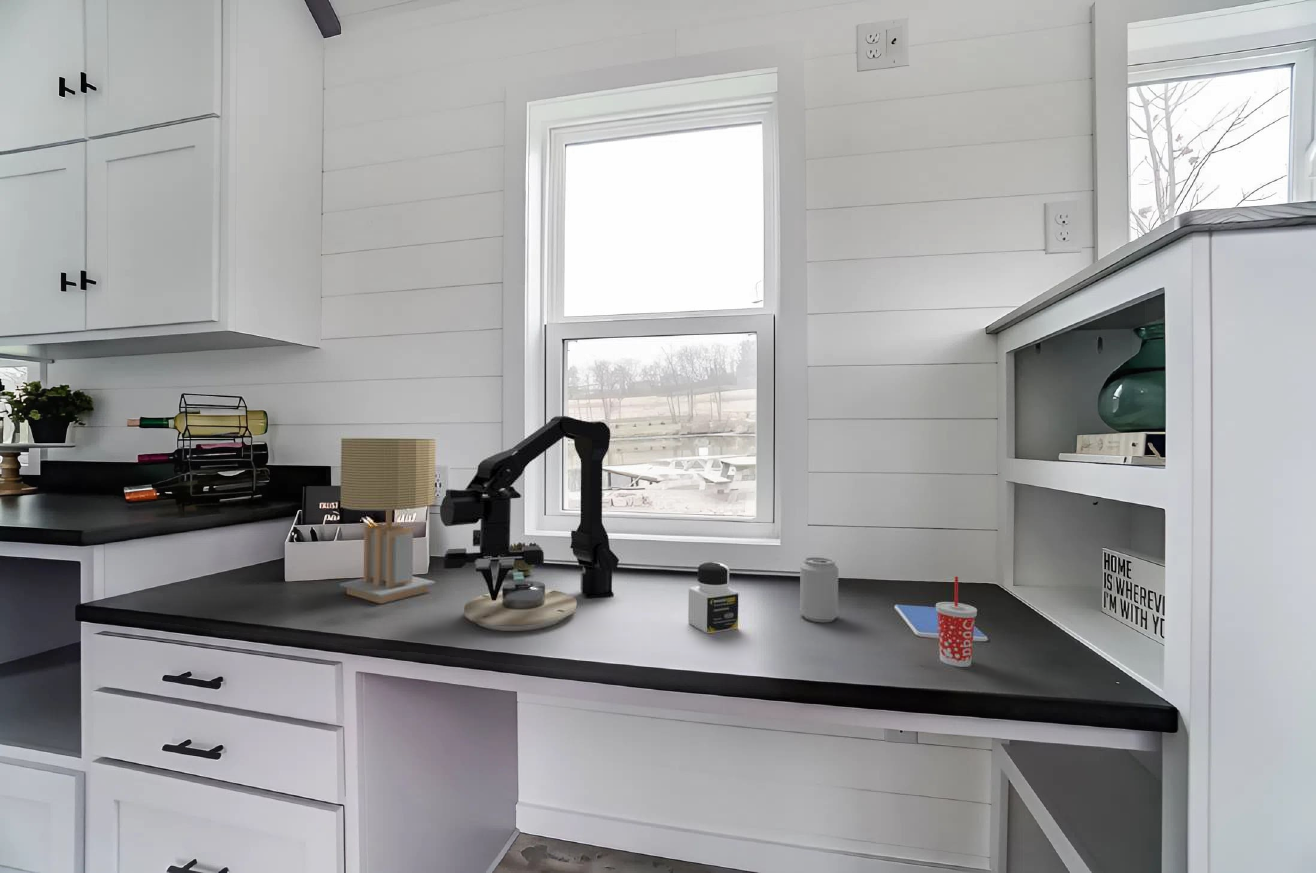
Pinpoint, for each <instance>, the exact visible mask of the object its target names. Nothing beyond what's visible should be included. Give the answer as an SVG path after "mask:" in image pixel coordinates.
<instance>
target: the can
mask: <svg viewBox="0 0 1316 873" xmlns="http://www.w3.org/2000/svg"><path fill="white" fill-rule="evenodd" d="M835 563H836V560H834V559H833V558H828V557H822V556H808V557H805V558H803V563H802V564H801V565H800V575H799V576H800V577H799V578H800V582H799V583H800V584H799V585H800V586H799V587H800V588H799V591H800V592H799V613H800V614H801V616H802V617H803V618H804V619H805V620H808V621H811V622H816V623H830V622H833V621H834V620H835V619H836V618H837V617H839V616H838V615H839V613H838V612H839V568H838V566H837V565H836V564H835Z"/></svg>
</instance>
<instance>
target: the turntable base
mask: <svg viewBox="0 0 1316 873" xmlns="http://www.w3.org/2000/svg"><path fill="white" fill-rule="evenodd" d="M564 619H565V618H562V619H559V620H556V621H552V622H548V623H543V624H537V625H529V626H492V625H485V624H480V623H476V624H477V625H478V626H480V627H482V628H485V629H489V630H494V631H503V632H504V631H505V632H522V631H523V632H524V631H531V630H539V629H543V628H548V627H550V626H553V625H556V624H558V623H561V622H562V621H563V620H564Z"/></svg>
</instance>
